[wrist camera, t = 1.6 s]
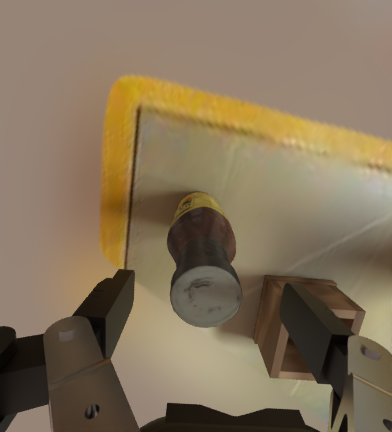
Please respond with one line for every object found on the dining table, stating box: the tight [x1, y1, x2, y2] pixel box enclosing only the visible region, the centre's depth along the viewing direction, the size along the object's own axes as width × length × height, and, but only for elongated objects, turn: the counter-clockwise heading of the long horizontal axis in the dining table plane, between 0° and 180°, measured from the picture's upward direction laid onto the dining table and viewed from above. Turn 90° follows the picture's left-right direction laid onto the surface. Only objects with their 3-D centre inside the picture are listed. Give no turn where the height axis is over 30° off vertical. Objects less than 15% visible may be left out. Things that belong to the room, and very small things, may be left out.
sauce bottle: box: [167, 192, 242, 328], centre depth 21 cm, size 7×6×20 cm
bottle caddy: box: [253, 275, 366, 381], centre depth 31 cm, size 11×12×7 cm
